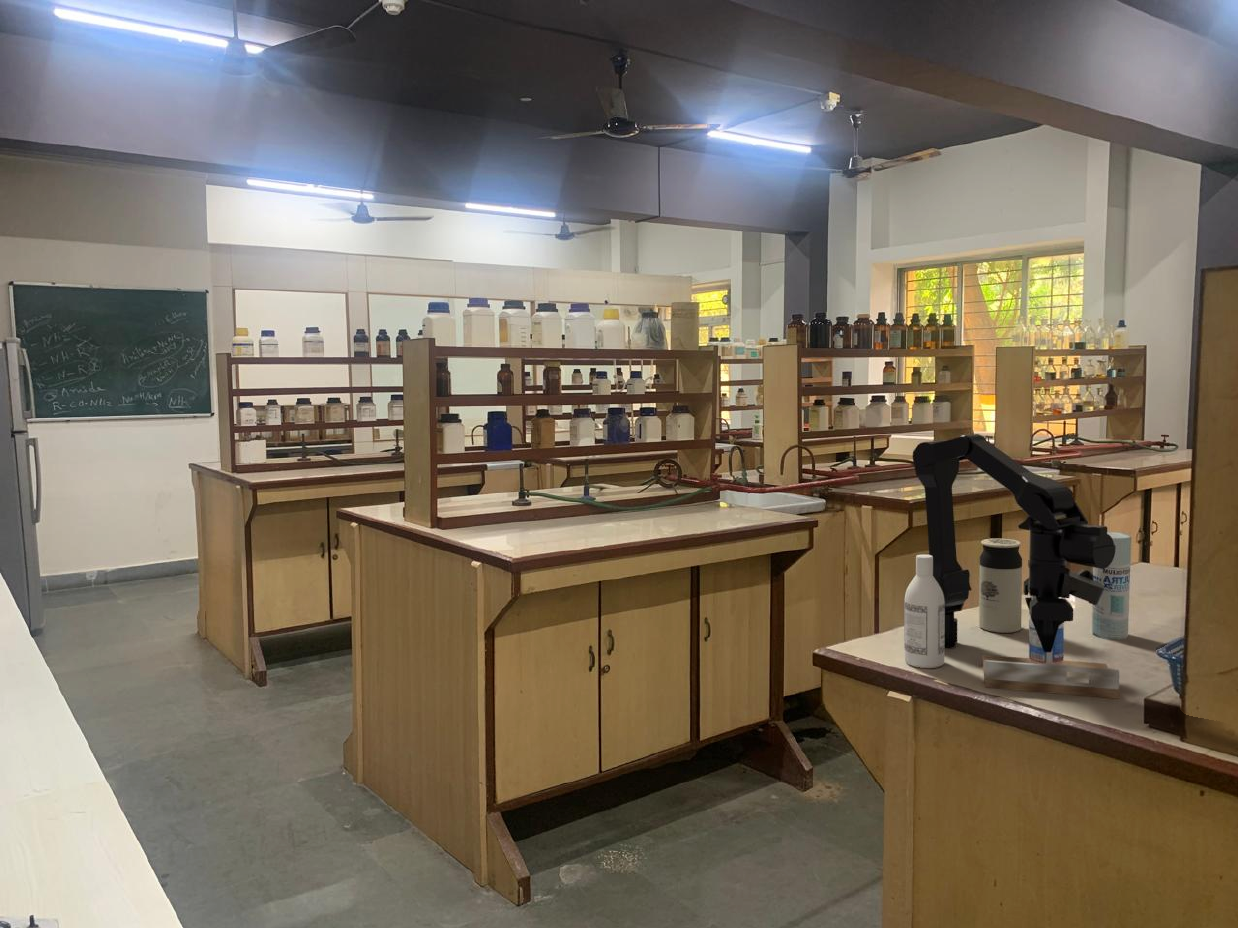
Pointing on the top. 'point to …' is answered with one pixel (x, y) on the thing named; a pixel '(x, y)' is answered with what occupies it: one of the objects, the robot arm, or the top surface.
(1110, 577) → the spray paint can
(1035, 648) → the pill bottle
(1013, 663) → the shelf board
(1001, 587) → the travel mug
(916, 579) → the bath foam
